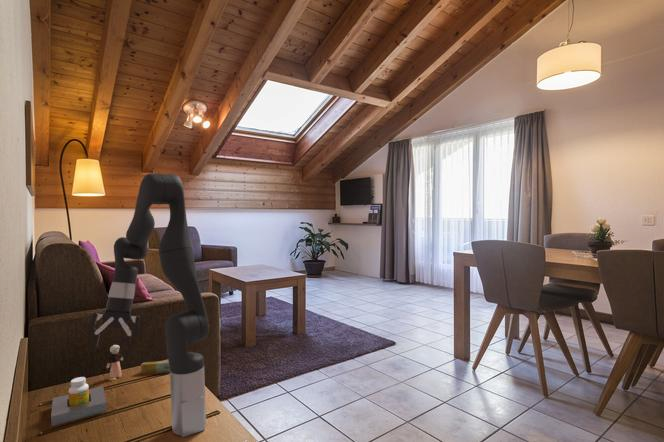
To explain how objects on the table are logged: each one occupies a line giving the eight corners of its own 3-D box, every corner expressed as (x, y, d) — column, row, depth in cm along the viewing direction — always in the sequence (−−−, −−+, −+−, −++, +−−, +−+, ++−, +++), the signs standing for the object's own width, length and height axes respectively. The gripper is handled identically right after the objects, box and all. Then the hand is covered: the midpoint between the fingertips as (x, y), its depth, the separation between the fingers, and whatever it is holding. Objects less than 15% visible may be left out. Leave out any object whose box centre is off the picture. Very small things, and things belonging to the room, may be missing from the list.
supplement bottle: (79, 414, 118) (78, 383, 118) (65, 413, 119) (63, 382, 119) (93, 405, 124) (92, 376, 123) (79, 404, 125) (78, 375, 124)
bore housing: (106, 411, 120) (106, 402, 120) (51, 426, 112) (51, 416, 112) (103, 394, 131) (103, 386, 131) (53, 407, 123) (52, 398, 123)
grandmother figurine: (115, 382, 141) (114, 348, 140) (105, 382, 141) (103, 348, 141) (126, 373, 148) (125, 341, 148) (117, 373, 149) (115, 341, 148)
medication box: (174, 370, 151) (174, 360, 151) (172, 372, 148) (172, 362, 148) (143, 372, 150) (143, 361, 150) (140, 374, 147) (140, 364, 147)
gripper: (95, 294, 122) (83, 347, 118) (144, 298, 127) (134, 349, 123) (98, 295, 128) (87, 345, 124) (144, 298, 134) (135, 346, 130)
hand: (110, 347), depth 124 cm, fingers open, 8 cm apart
